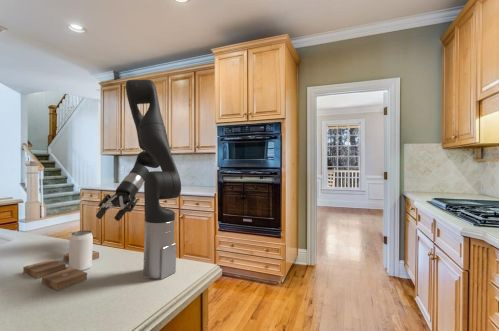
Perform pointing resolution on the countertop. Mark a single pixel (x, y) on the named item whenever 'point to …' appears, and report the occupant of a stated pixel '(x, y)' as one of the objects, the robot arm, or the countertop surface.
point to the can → (81, 250)
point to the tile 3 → (94, 256)
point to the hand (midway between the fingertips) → (107, 218)
